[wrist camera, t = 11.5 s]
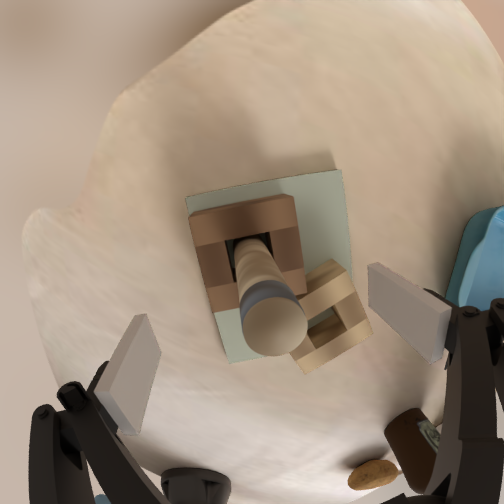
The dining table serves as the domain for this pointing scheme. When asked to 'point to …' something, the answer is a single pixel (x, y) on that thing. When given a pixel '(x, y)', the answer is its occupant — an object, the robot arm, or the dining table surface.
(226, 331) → the pale green flat mat
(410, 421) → the olive oil
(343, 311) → the light wooden square frame
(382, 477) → the potato
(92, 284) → the dining table surface
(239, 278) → the banded wooden cylinder
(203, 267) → the brown square wooden frame
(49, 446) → the robot arm
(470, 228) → the casserole dish
